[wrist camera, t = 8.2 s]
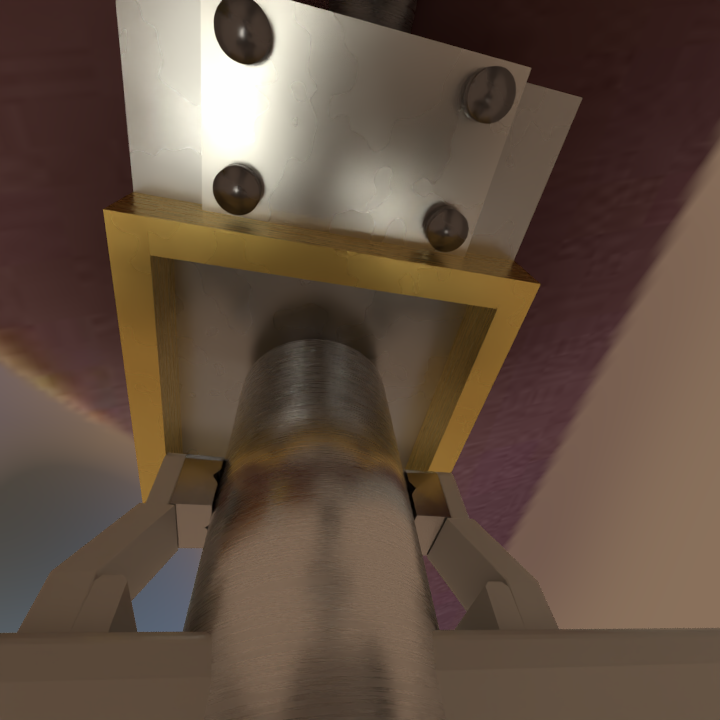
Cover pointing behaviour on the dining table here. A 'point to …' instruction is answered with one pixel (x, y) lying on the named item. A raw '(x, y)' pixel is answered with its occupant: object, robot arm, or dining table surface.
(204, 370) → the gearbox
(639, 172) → the dining table surface
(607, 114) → the dining table surface
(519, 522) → the dining table surface
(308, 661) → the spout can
